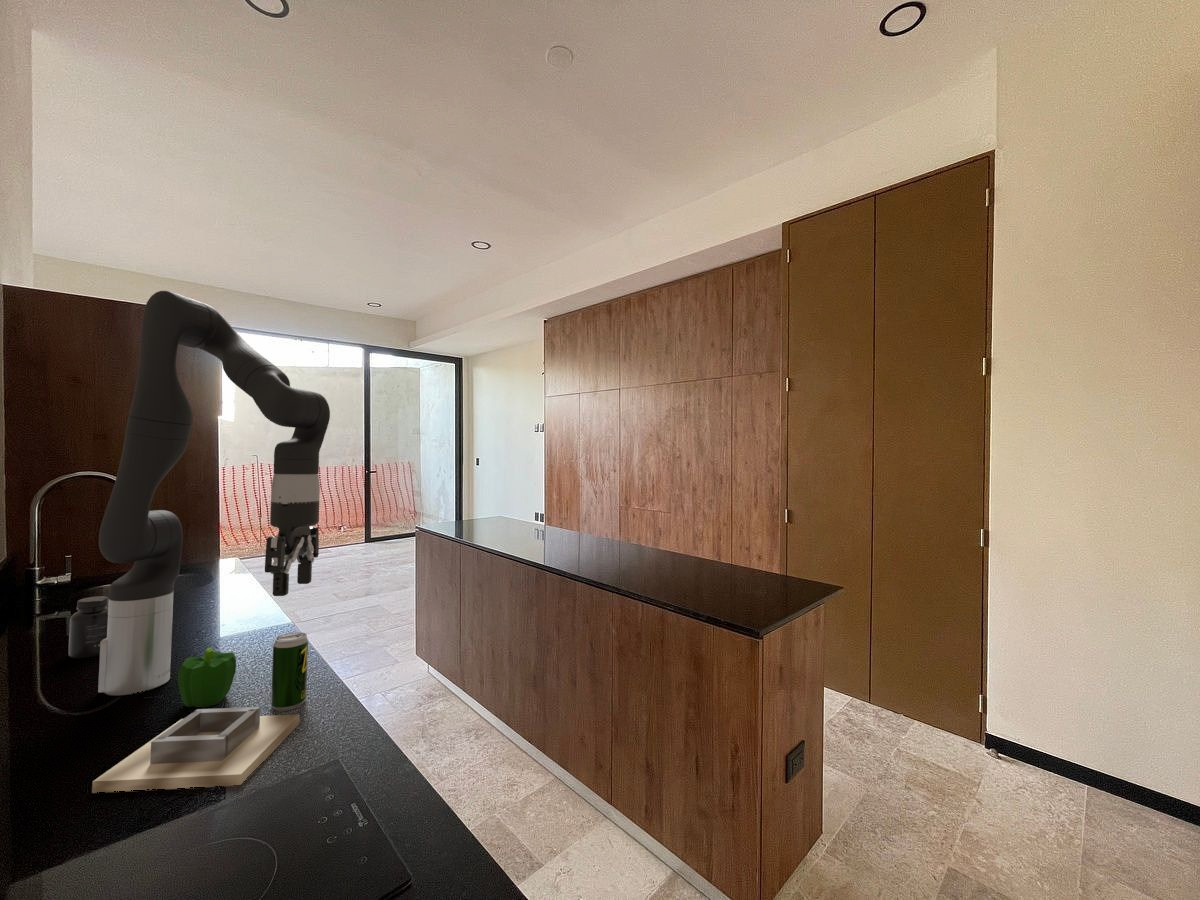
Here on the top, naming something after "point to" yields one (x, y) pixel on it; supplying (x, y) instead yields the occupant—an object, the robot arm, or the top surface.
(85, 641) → the supplement bottle
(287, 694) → the beer can
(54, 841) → the top surface
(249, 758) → the collar board
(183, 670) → the bell pepper
